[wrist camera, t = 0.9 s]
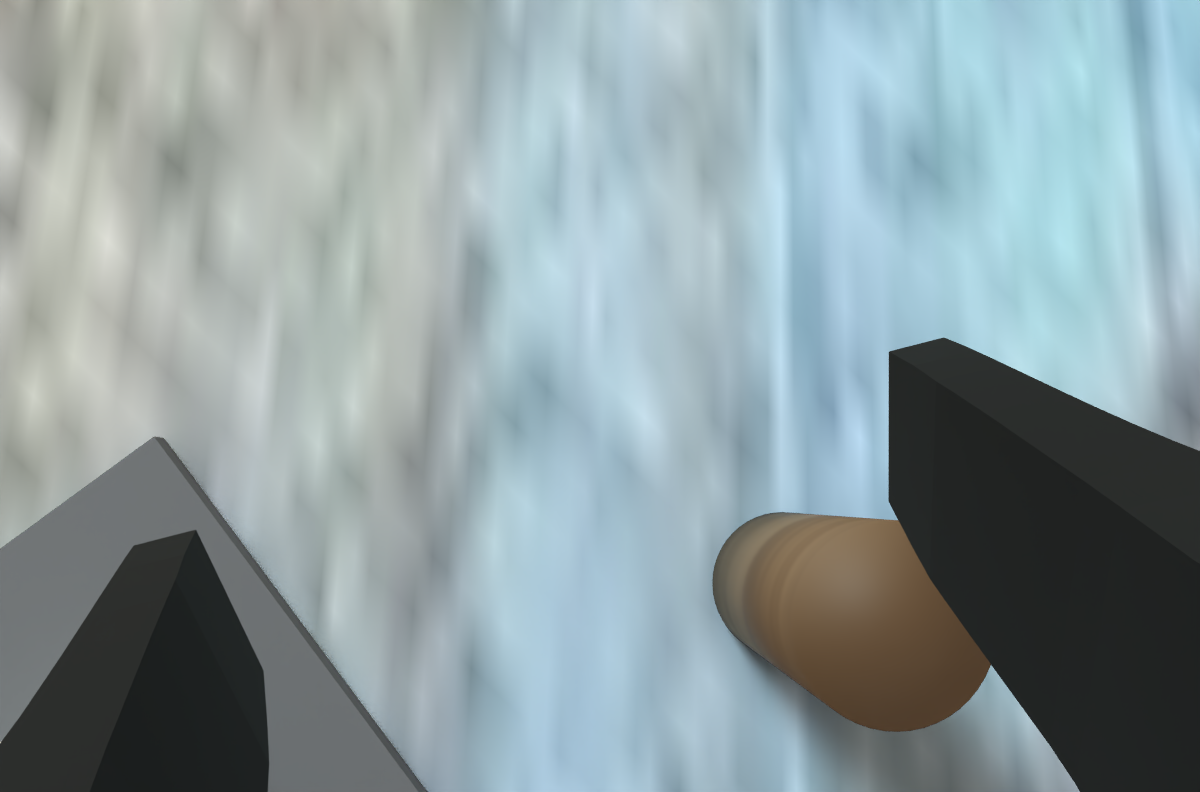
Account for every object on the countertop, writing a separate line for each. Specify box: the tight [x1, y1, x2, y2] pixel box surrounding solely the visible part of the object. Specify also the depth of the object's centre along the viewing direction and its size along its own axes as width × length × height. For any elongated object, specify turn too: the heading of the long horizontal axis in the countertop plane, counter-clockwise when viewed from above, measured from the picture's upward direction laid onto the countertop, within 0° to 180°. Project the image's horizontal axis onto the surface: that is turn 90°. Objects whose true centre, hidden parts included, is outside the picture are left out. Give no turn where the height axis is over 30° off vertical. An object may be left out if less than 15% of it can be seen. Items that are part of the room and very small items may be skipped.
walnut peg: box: [713, 512, 991, 732], centre depth 21 cm, size 3×3×8 cm
